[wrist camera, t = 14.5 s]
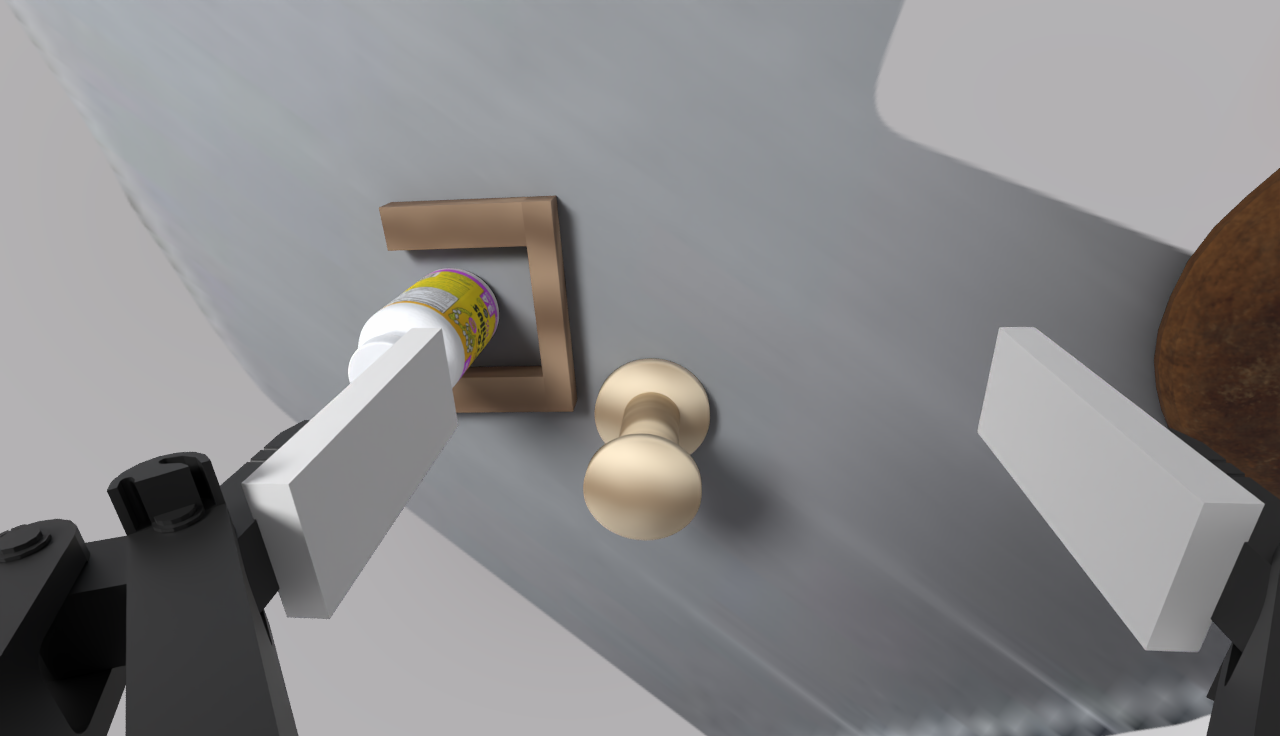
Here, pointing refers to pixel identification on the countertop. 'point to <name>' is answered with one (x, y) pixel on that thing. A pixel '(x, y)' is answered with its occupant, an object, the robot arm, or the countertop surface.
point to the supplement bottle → (434, 320)
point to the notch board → (541, 234)
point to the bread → (1229, 340)
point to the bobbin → (647, 450)
